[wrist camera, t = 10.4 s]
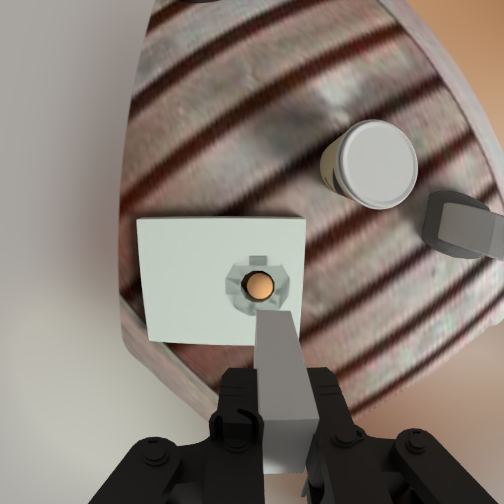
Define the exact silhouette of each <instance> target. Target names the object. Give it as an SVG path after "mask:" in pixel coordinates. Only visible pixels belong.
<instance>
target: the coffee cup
mask: <svg viewBox="0 0 504 504" xmlns="http://www.w3.org/2000/svg"><path fill="white" fill-rule="evenodd" d="M320 173H321V176H322V179H323V181H324V182H325V184H326V185H327V186H328V187H329V188H330V189H331V190H332V191H334V192H335V193H337V194H339V195H342V196H344V197H347V198H349V199H352V200H354V201H356V202H358V203H360V204H362V205H364V206H366V207H369V208H373V209H387V208H391V207H394V206H396V205H398V204H399V203H401V202H402V201H403V200H404V199H405V198H406V197H407V196H408V195H409V194H410V192H411V191H412V189H413V187H414V185H415V182H416V179H417V173H418V162H417V157H416V153H415V150H414V148H413V146H412V144H411V142H410V140H409V139H408V138H407V136H406V135H405V134H404V133H403V132H402V131H401V130H399V129H398V128H397V127H395V126H394V125H392V124H390V123H388V122H385V121H381V120H365V121H361V122H359V123H357V124H355V125H353V126H352V127H351V128H350V129H349V130H348V131H346V133H344V134H343V135H342V136H340V137H339V138H338V139H337V140H335V141H334V142H333V143H331V144H330V145H329V146H328V147H327V148H326V149H325V151H324V152H323V154H322V157H321V160H320Z"/></svg>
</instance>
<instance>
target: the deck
mask: <svg viewBox="0 0 504 504" xmlns="http://www.w3.org/2000/svg"><path fill="white" fill-rule="evenodd" d="M305 231H306V219H305V218H303V217H274V216H182V217H142V218H140V219H137V234H138V249H139V261H140V272H141V282H142V291H143V300H144V308H145V315H146V322H147V329H148V336H149V341H159V342H173V343H190V344H213V345H255V329H256V310H281V311H291V314H292V318H293V321H294V325H295V328H296V332H297V336H298V339H299V329H300V317H301V303H302V288H303V272H304V253H305ZM251 271H264V272H266V273H268V274H269V275H271V277H272V279H273V290H272V292H271V294H270V295H269V296H268V297H266V298H263V299H257V298H254V297H252V296H251V295H250V294H249V293H247V292H245V290H244V289H243V287H242V285H241V281H242V279H243V278H244V276H245V275H246V274H248V273H250V272H251Z"/></svg>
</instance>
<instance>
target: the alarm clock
mask: <svg viewBox="0 0 504 504" xmlns="http://www.w3.org/2000/svg"><path fill="white" fill-rule="evenodd" d="M422 239H423V241H424V242H425V243H426V244H427V245H429V246H430V247H432V248H433V249H435V250H437V251H439V252H441V253H444V254H446V255H449V256H452V257H456V258H465V259H477V258H480V257H481V256H482V255H486V256H489V257H492V258H495V259H498V260H501V261H504V216H503V215H500V214H497V213H493V212H491V211H490V209H489V208H488V207H487V206H486V205H484V204H483V203H481V202H480V201H478V200H476V199H474V198H472V197H470V196H468V195H465V194H461V193H456V192H435V193H431V195H430V196H429V201H428V207H427V213H426V218H425V223H424V228H423V233H422Z"/></svg>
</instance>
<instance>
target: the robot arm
mask: <svg viewBox="0 0 504 504" xmlns="http://www.w3.org/2000/svg"><path fill="white" fill-rule="evenodd" d="M182 1H186V2H194V3H204V2H213V1H218V0H182ZM209 430H210V436H209V437H208V438H207V439H205V440H204V441H202V442H199V443H196V444H191V445H184V446H176V444H175V443H174V442H172V441H170V440H168V439H166V438H161V437H148V438H145V439H142V440H139V441H138V442H137V443H136V444H135V445H133V446H132V448H131V449H130V450H129V452H128V453H127V454H126V455H125V457H124V458H123V459H122V461H121V462H120V463H119V465H118V466H117V467H116V469H115V470H114V471H113V472H112V474H111V475H110V476H109V477H108V479H107V480H106V481H105V483H104V484H103V485H102V486H101V488H100V489H99V490H98V491H97V493H96V494H95V495H94V496H93V498H92V499H91V501H90V502H89V503H88V504H265V498H264V474H285V473H303V472H304V469H305V466H306V468H307V474H308V476H307V479H306V482H305V485H304V488H303V490H302V495H301V497H305V495H307V502H308V504H498V503H497V502H496V501H495V500H494V499H493V498H492V497H491V496H490V495H489V494H488V493H487V492H486V490H485V489H484V488H483V487H482V486H481V485H480V484H479V483H478V482H477V481H476V480H475V479H474V478H473V477H472V476H471V475H470V474H469V473H468V472H467V471H466V470H465V469H464V468H463V467H462V466H461V465H460V463H459V462H458V461H457V460H456V459H455V458H454V457H453V456H452V455H451V454H450V453H449V452H448V451H447V450H446V449H445V448H444V447H443V446H442V445H441V444H440V443H439V442H438V441H437V440H436V439H435V438H434V437H433V436H432V435H431V434H430V433H428V432H427V431H424V430H422V429H415V428H412V429H407V430H404V431H402V432H401V433H400V434H398V436H397V438H396V439H384V438H375V437H370V436H368V435H367V434H366V433H365V431H364V430H363V429H362V428H360V427H359V426H357V425H354V423H353V420H352V418H351V415H350V412H349V410H348V407H347V404H346V402H345V399H344V396H343V395H342V391H341V389H340V387H339V383H338V381H337V378H336V376H335V375H334V374H333V373H332V372H331V371H330V370H329V369H328V368H327V367H320V368H306V365H305V361H304V358H303V354H302V350H301V347H300V343H299V339H298V336H297V332H296V328H295V325H294V321H293V318H292V314H291V311H281V310H256V329H255V348H254V369H249V368H228V369H227V371H226V372H225V373H224V374H223V375H222V379H221V386H220V393H219V400H218V408H217V411H216V412H214V413H213V414H212V415H211V418H210V420H209Z"/></svg>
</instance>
